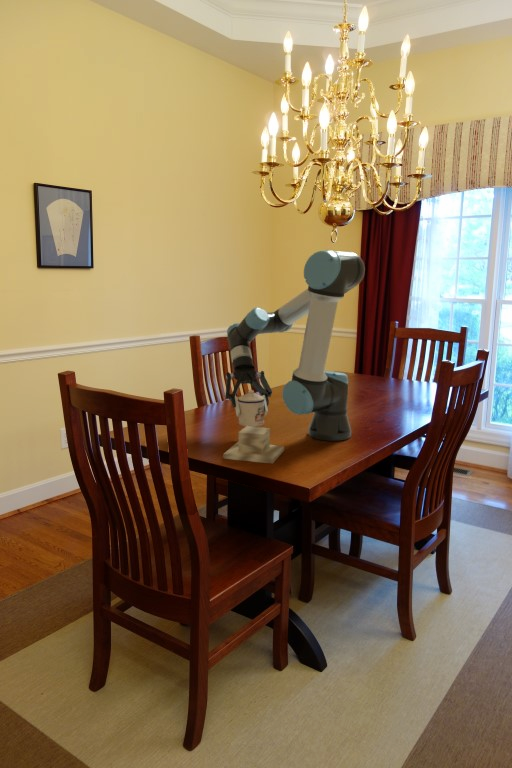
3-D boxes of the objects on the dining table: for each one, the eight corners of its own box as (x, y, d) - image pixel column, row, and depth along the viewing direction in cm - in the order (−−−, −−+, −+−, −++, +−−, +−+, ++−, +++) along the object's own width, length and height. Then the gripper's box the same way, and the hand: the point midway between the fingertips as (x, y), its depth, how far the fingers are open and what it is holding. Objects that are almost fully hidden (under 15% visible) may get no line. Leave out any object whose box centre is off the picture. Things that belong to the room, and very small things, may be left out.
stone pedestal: (284, 450, 190) (284, 426, 189) (272, 463, 177) (273, 438, 175) (237, 446, 195) (237, 422, 193) (223, 458, 181) (223, 433, 180)
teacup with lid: (259, 427, 195) (259, 393, 193) (234, 426, 198) (233, 392, 196) (270, 419, 206) (270, 387, 204) (246, 418, 209) (245, 386, 207)
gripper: (269, 366, 216) (281, 417, 203) (211, 368, 211) (219, 421, 199) (273, 353, 210) (285, 405, 197) (213, 355, 205) (222, 409, 193)
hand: (252, 413), depth 198 cm, fingers closed on teacup with lid, 9 cm apart
